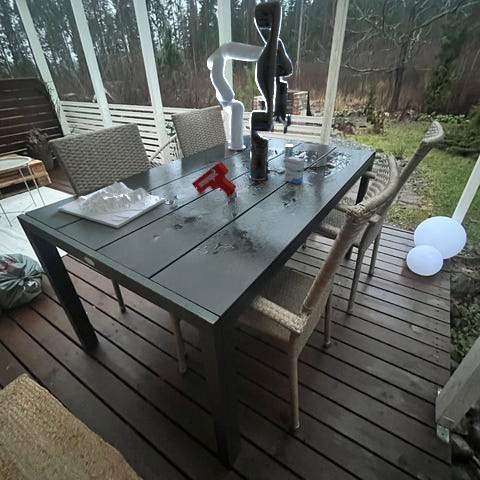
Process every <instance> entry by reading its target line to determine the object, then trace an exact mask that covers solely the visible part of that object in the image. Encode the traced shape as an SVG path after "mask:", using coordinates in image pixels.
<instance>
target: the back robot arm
mask: <svg viewBox="0 0 480 480" xmlns="http://www.w3.org/2000/svg"><path fill="white" fill-rule="evenodd" d="M264 47H265V46H259V45H254V44H247V43H242V42H235V41H227V42H224V43H222V44H221V45H220V46H219V47H218V48H217V49H216V50H215V51H214V52H213V53H212V54H210V56H209V57H208V58H207V61H206V63H207V64H206V65H207V68H208V69H209V70H210V79H211V82H212V85H213V86H214V88H215V90H216V93H215V95H216V99H217V100H218V101H219V103H220V105H221V106H222V108H223V109H224V110H225V112H226V113H227V114H229V115H230V116H229V117H230V118H229V140H228V141H227V144H228V150H231V151H242V150H245V149H246V146H245V145H244V115H245V106H244V104H243V102H241V101H239V100H235V92H234V90H233V88H232V87H231V85H230V83H229V82H228V80H227V79H226V76H225V68H226V67H225V66H226V62H227V60H228V59H231V60H239V61H246V62H257V61H258V58H259V56H260V54H261V53H262V51H263V49H264ZM280 78H281V80H282V81H283V77H280ZM274 92H275V86H274Z"/></svg>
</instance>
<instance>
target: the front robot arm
mask: <svg viewBox="0 0 480 480" xmlns="http://www.w3.org/2000/svg"><path fill="white" fill-rule="evenodd" d="M282 13H283V12H282V4H281V1H280V0H270V1H263V2H259V3H257V4H256V5H255V7H254V11H253V19H254V24H255V27H256V29H257V31H258V32H259V34H260V36H261V38H262V40H263V41H264V43H265V45H264V46H263V47H264V49H263V51H262V53H261V54H260V56H259V58H258V61H256V65H255V82H256V85H257V87H258V90H259V91H260V93H261V95H262V98H263V100H264V102H265V103H264V104H265V108H266V109H265V110H252V112H251V113H250V115H249V116H250V117H249V130H250V131H249V133H250V155H249V157H250V158H249V160H250V161H249V165H250V166H249V167H250V168H249V178H250V180H253V181H256V182H257V181H265V180H268V179H269V175H270V174H271V172H273V173H276V174H278V175H281V174H285V170H283V171H278V170H275V169H271V168H270V167H269V142H270V141H269V139H268V138H266V137H264V136H262V135H261V134H259V132H261V133H269V132H270V133H275V132H274V130H275V124H276V123H279V124H280V123H281V124H282V126H283V135H286V134H287V133H288V127H290V126H291V125H292V114H287V110H288V109H287V108H288V92H289V84H288V83H289V82H287V81H284V80H283V79H282V80H281V78H280V77H282V78H287V77H291V75H292V74H293V71H294V66H293V63H292V60H291V59H290V58H289V56H288V54H287V53H286V49H285V46H284V43H283V42H282V40H281V39H280V38H279V37H280V31H281V24H282V15H283V14H282ZM274 86H275V91H274ZM329 164H330V165H329ZM329 164H325V165H326V166H325V165H320V166H319V165H318V166H319V167H317V166H307V167H306V166H305V167H306V168H304V170H309V169H320V168H326V167H331V166H332V164H331V163H329Z"/></svg>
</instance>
